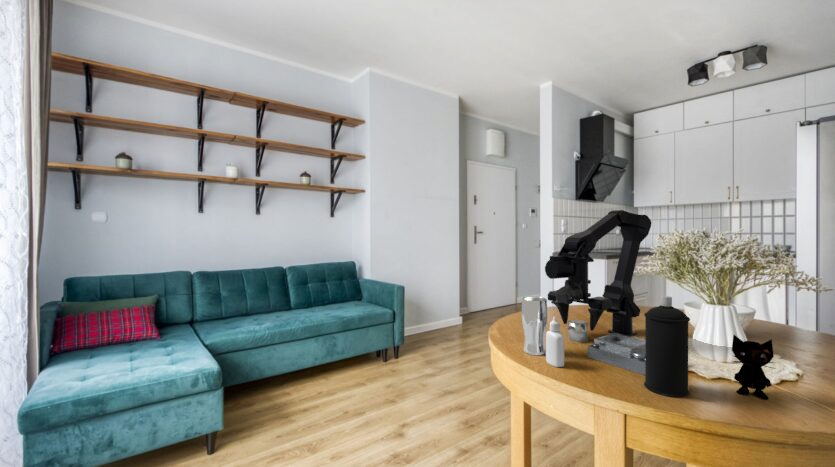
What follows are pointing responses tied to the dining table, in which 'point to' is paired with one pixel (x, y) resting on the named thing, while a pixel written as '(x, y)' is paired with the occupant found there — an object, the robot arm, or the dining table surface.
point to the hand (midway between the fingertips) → (578, 327)
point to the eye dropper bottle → (555, 345)
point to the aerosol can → (666, 350)
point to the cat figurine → (752, 365)
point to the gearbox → (619, 351)
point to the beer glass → (534, 324)
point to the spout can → (577, 330)
